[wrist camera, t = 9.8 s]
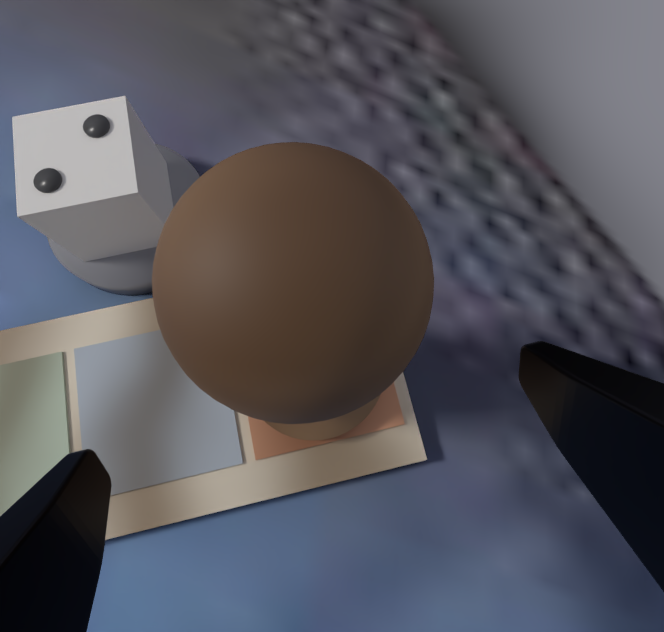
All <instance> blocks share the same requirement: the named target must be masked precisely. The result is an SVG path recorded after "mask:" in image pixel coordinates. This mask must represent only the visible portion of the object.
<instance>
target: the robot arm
mask: <svg viewBox="0 0 664 632" xmlns="http://www.w3.org/2000/svg"><path fill="white" fill-rule="evenodd" d="M519 381H520V384H521V386H522V388H523V390H524V392H525V393H526V395H527V397H528V398H529V400H530V402H531V404H532V405H533V407H534V409H535V410H536V412H537V414H538V415H539V417H540V419H541V421H542V422H543V424H544V426H545V427H546V429H547V431H548V433H549V434H550V436H551V438H552V439H553V441H554V442H555V444H556V446H557V447H558V449H559V450H560V451H561V453H562V454H563V456H564V457H565V459H566V460H567V461H568V463H569V464H570V465H571V467H572V468H573V469H574V471H575V472H576V473H577V475H578V476H579V478H580V479H581V480H582V482H583V483H584V484H585V486H586V487H587V488H588V490H589V491H590V492H591V494H592V495H593V497H594V498H595V499H596V501H597V502H598V503H599V505H600V506H601V507H602V509H603V510H604V511H605V513H606V514H607V516H608V517H609V518H610V520H611V521H612V522H613V524H614V525H615V526H616V528H617V529H618V530H619V532H620V533H621V535H622V536H623V537H624V539H625V540H626V541H627V543H628V544H629V545H630V547H631V548H632V549H633V551H634V552H635V554H636V555H637V556H638V558H639V559H640V560H641V562H642V563H643V564H644V566H645V567H646V568H647V570H648V571H649V573H650V574H651V575H652V577H653V578H654V579H655V581H656V582H657V583H658V585H659V586H660V587H661V589H662V590H663V592H664V384H663V383H661V382H658V381H655V380H652V379H649V378H646V377H643V376H641V375H638V374H635V373H632V372H629V371H626V370H623V369H621V368H618V367H615V366H612V365H609V364H606V363H604V362H601V361H598V360H595V359H592V358H589V357H586V356H584V355H581V354H578V353H575V352H572V351H569V350H567V349H564V348H561V347H558V346H555V345H552V344H549V343H547V342H543V341H538V342H534V343H530V344H526V345H524V346H523V347H522V348H521V352H520V365H519ZM111 487H112V484H111V478H110V475H109V473H108V472H107V470H106V469H105V467H104V465H103V464H102V462H101V461H100V459H99V458H98V456H97V454H96V453H95V452H94V451H93V450H91V449H84V450H80V451H76V452H72V453H69V454H67V455H66V456H65V457H64V458H63V459H62V460H60V461H59V462H58V463H57V464H56V465H55V466H54V467H53V468H52V469H51V470H50V471H49V472H48V473H46V474H45V475H44V476H43V477H42V478H41V479H40V480H39V481H38V482H37V483H36V484H35V485H34V486H32V487H31V488H30V489H29V490H28V491H27V492H26V493H25V494H24V495H23V496H22V497H21V498H19V499H18V500H17V501H16V502H15V503H14V504H13V505H12V506H11V507H10V508H9V509H8V510H7V511H5V512H4V513H3V514H2V515H1V516H0V632H86V631H87V627H88V622H89V618H90V614H91V609H92V605H93V601H94V596H95V592H96V588H97V583H98V579H99V575H100V570H101V565H102V559H103V553H104V545H105V537H106V529H107V521H108V512H109V504H110V496H111Z"/></svg>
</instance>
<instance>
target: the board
mask: <svg viewBox="0 0 664 632" xmlns="http://www.w3.org/2000/svg"><path fill="white" fill-rule="evenodd" d="M84 449H91V450H93V451H94V452H95V453H96V454H97V456H98V458H99V459H100V461H101V462H102V464H103V465H104V467H105V469H106V470H107V472H108V473H109V475H110V478H111V484H112V487H111V496H110V504H109V512H108V521H107V529H106V537H105V540H107V539H111V538H115V537H119V536H123V535H127V534H131V533H135V532H139V531H143V530H147V529H151V528H155V527H159V526H163V525H167V524H171V523H175V522H179V521H183V520H187V519H191V518H195V517H199V516H203V515H207V514H211V513H215V512H219V511H223V510H227V509H231V508H235V507H239V506H243V505H247V504H251V503H256V502H260V501H264V500H268V499H272V498H276V497H280V496H284V495H288V494H292V493H296V492H300V491H304V490H308V489H312V488H316V487H320V486H324V485H328V484H332V483H336V482H340V481H344V480H348V479H352V478H356V477H360V476H364V475H368V474H372V473H376V472H380V471H384V470H388V469H392V468H396V467H400V466H404V465H408V464H412V463H416V462H420V461H424V460H427V457H426V454H425V450H424V446H423V443H422V439H421V435H420V432H419V428H418V425H417V421H416V417H415V414H414V410H413V406H412V403H411V399H410V395H409V392H408V388H407V385H406V381H405V377H404V374H403V372H402V373H401V375H400V376H399V377H398V378H397V379H396V380H395V381H394V382H393V384H392V385H390V386H389V387H388V388H387V389H386V390H385V391H383V392H382V393H381V395H380V397H379V399H378V401H377V403H376V405H375V406H374V408H373V409H372V411H371V412H370V413H369V415H368V416H367V417H366V418H365V419H364V420H363V421H362V422H361V423H360V424H358V425H357V426H356V427H354V428H353V429H351V430H350V431H348V432H346V433H344V434H342V435H340V436H337V437H333V438H330V439H324V440H312V441H310V440H301V439H297V438H292V437H290V436H287V435H284V434H282V433H280V432H278V431H277V430H275V429H273V428H272V427H271V426H269V425H268V424H267V423H266V422H265V421H263V420H259V419H255V418H251V417H249V416H246V415H244V414H241V413H238V412H236V411H234V410H232V409H230V408H228V407H227V406H225V405H223V404H221V403H220V402H218V401H216V400H214V399H213V398H212V397H210V396H209V395H208V394H206V393H205V392H204V391H202V390H201V389H200V388H199V387H198V386H197V385H196V384H195V383H194V382H193V381H192V380H191V379H190V378H189V377H188V376H187V375H186V374H185V372H184V371H183V370H182V368H181V367H180V366H179V364H178V363H177V361H176V360H175V358H174V357H173V355H172V354H171V352H170V350H169V348H168V346H167V344H166V342H165V340H164V338H163V336H162V333H161V330H160V327H159V325H158V322H157V317H156V312H155V307H154V302H153V298H150V299H145V300H141V301H136V302H131V303H127V304H122V305H118V306H113V307H108V308H104V309H99V310H94V311H90V312H85V313H80V314H76V315H71V316H67V317H62V318H57V319H53V320H48V321H43V322H39V323H34V324H30V325H25V326H20V327H16V328H11V329H6V330H2V331H0V516H1V515H2V514H3V513H4V512H5V511H7V510H8V509H9V508H10V507H11V506H12V505H13V504H14V503H15V502H16V501H17V500H18V499H19V498H21V497H22V496H23V495H24V494H25V493H26V492H27V491H28V490H29V489H30V488H31V487H32V486H34V485H35V484H36V483H37V482H38V481H39V480H40V479H41V478H42V477H43V476H44V475H45V474H46V473H48V472H49V471H50V470H51V469H52V468H53V467H54V466H55V465H56V464H57V463H58V462H59V461H60V460H62V459H63V458H64V457H65V456H66V455H67V454H69V453H72V452H76V451H80V450H84Z"/></svg>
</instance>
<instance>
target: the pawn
mask: <svg viewBox="0 0 664 632" xmlns="http://www.w3.org/2000/svg"><path fill="white" fill-rule="evenodd" d="M152 291H153V302H154V307H155V312H156V317H157V322H158V325H159V327H160V330H161V333H162V336H163V338H164V340H165V342H166V344H167V346H168V348H169V350H170V352H171V354H172V355H173V357H174V358H175V360H176V361H177V363H178V364H179V366H180V367H181V368H182V370H183V371H184V372H185V374H186V375H187V376H188V377H189V378H190V379H191V380H192V381H193V382H194V383H195V384H196V385H197V386H198V387H199V388H200V389H201V390H202V391H204V392H205V393H206V394H208V395H209V396H210V397H212V398H213V399H214V400H216V401H218V402H220V403H221V404H223V405H225V406H227V407H228V408H230V409H232V410H234V411H236V412H238V413H241V414H244V415H246V416H249V417H251V418H255V419H259V420H263V421H265V422H266V423H267V424H268V425H269V426H271V427H272V428H273V429H275V430H277V431H278V432H280V433H282V434H284V435H287V436H290V437H292V438H297V439H301V440H310V441H312V440H324V439H330V438H333V437H337V436H340V435H342V434H344V433H346V432H348V431H350V430H351V429H353V428H354V427H356V426H357V425H358V424H360V423H361V422H362V421H363V420H364V419H365V418H366V417H367V416H368V415H369V413H370V412H371V411H372V409H373V408H374V406H375V405H376V403H377V401H378V399H379V397H380V395H381V393H382V392H383V391H385V390H386V389H387V388H388V387H389V386H390V385H392V384H393V382H394V381H395V380H396V379H397V378H398V377H399V376H400V375H401V373H402V372H403V371H404V370H405V368H406V367H407V365H408V364H409V362H410V361H411V359H412V358H413V356H414V355H415V353H416V352H417V350H418V348H419V346H420V343H421V341H422V339H423V337H424V335H425V332H426V329H427V326H428V322H429V319H430V314H431V308H432V302H433V291H434V274H433V265H432V259H431V255H430V251H429V246H428V243H427V239H426V237H425V234H424V231H423V229H422V226H421V224H420V222H419V220H418V218H417V216H416V215H415V213H414V211H413V209H412V208H411V206H410V205H409V204H408V202H407V201H406V200H405V198H404V197H403V196H402V194H401V193H400V192H399V191H398V190H397V189H396V188H395V186H394V185H393V184H392V183H391V182H390V181H389V180H388V179H387V178H385V177H384V176H383V175H382V174H380V173H379V172H378V171H377V170H376V169H374V168H373V167H371V166H369V165H368V164H366V163H365V162H363V161H361V160H359V159H357V158H355V157H353V156H351V155H349V154H346V153H344V152H342V151H339V150H335V149H332V148H329V147H326V146H321V145H316V144H310V143H299V142H288V143H275V144H267V145H262V146H259V147H255V148H251V149H248V150H245V151H242V152H240V153H237V154H235V155H233V156H231V157H229V158H227V159H225V160H223V161H221V162H220V163H218V164H217V165H215V166H214V167H212V168H211V169H209V170H208V171H207V172H205V173H204V174H203V175H202V176H201V177H200V178H198V179H197V180H196V181H195V182H194V183H193V184H192V185H191V186H190V187H189V188H188V190H187V191H186V192H185V193H184V194H183V195H182V196H181V198H180V199H179V201H178V202H177V203H176V205H175V206H174V208H173V209H172V211H171V213H170V215H169V216H168V218H167V220H166V222H165V224H164V227H163V229H162V232H161V235H160V238H159V240H158V244H157V248H156V253H155V257H154V262H153V272H152Z"/></svg>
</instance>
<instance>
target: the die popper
mask: <svg viewBox="0 0 664 632" xmlns="http://www.w3.org/2000/svg"><path fill="white" fill-rule="evenodd" d="M12 121H13V141H14V161H15V181H16V200H17V217H19V218H20V219H22V220H23V221H25V222H26V223H28V224H29V225H31V226H32V227H34V228H35V229H37V230H38V231H39V232H41V233H42V234H44V235H45V236H47V238H48V241H49V244H50V247H51V249H52V251H53V253H54V255H55V256H56V257H57V259H58V260H59V262H60V263H61V264H62V265H63V266H64V267H65V268H66V269H67V270H69V271H70V272H71V273H73V274H74V275H76V276H77V277H79V278H81V279H82V280H84V281H86V282H87V283H89V284H91V285H93V286H94V287H96V288H98V289H101V290H103V291H106V292H109V293H114V294H119V295H140V294H147V293H151V292H153V291H152V272H153V262H154V257H155V253H156V248H157V244H158V240H159V238H160V235H161V232H162V229H163V227H164V224H165V222H166V220H167V218H168V216H169V215H170V213H171V211H172V209H173V208H174V206H175V205H176V203H177V202H178V201H179V199H180V198H181V196H182V195H183V194H184V193H185V192H186V191H187V190H188V188H189V187H190V186H191V185H192V184H193V183H194V182H195V181H196V180H197V179H198V178H200V176H199V174H198V173H197V171H196V169H195V168H194V167H193V166H192V165H191V163H190V162H189V161H187V160H186V159H185V158H184V157H183V156H181V155H180V154H178V153H177V152H175V151H173V150H171V149H169V148H167V147H164V146H161V145H158V144H155V143H154V142H153V140H152V138H151V137H150V135H149V133H148V132H147V130H146V129H145V127H144V125H143V124H142V122H141V121H140V119H139V117H138V116H137V114H136V112H135V111H134V109H133V108H132V106H131V104H130V103H129V101H128V99H127V98H126V96H122V97H117V98H111V99H106V100H100V101H95V102H90V103H84V104H79V105H74V106H68V107H63V108H58V109H52V110H47V111H41V112H36V113H31V114H25V115H20V116H15V117H12Z"/></svg>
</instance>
